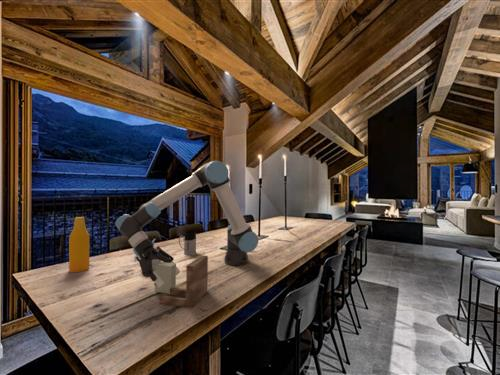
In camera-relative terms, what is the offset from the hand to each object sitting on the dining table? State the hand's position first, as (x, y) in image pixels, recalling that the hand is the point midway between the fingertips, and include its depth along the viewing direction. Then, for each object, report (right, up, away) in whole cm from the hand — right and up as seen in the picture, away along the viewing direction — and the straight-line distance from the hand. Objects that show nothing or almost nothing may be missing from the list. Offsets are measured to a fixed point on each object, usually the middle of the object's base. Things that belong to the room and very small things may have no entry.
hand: (170, 279), depth 105 cm
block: (-3, -5, +1) cm, 6 cm away
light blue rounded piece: (-35, -5, +51) cm, 63 cm away
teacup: (-19, -5, +27) cm, 34 cm away
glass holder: (-8, -5, +55) cm, 56 cm away
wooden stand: (+8, -6, -5) cm, 11 cm away
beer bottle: (-59, -5, +26) cm, 65 cm away
